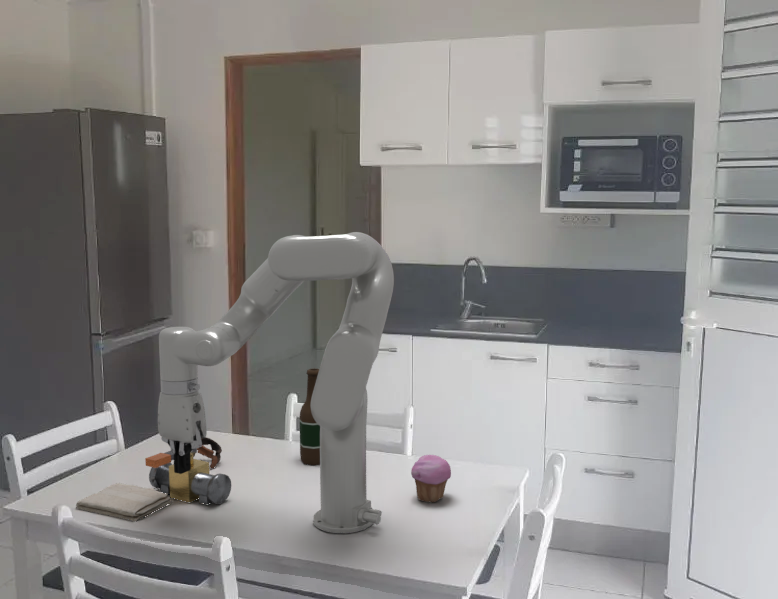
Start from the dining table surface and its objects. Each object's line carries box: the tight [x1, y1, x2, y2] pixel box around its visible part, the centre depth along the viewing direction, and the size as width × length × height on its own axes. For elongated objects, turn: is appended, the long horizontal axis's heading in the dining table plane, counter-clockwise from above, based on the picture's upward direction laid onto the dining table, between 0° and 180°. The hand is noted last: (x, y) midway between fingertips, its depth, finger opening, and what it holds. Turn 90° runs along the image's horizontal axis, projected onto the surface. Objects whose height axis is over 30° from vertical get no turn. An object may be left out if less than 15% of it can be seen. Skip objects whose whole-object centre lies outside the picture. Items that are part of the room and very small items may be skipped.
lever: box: [144, 448, 198, 468], centre depth 168 cm, size 4×13×2 cm, turn 149°
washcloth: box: [75, 482, 173, 522], centre depth 168 cm, size 12×18×3 cm, turn 66°
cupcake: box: [410, 454, 452, 503], centre depth 171 cm, size 9×9×10 cm
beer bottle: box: [299, 367, 320, 466], centre depth 196 cm, size 8×8×24 cm
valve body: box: [148, 454, 232, 505], centre depth 173 cm, size 19×6×10 cm, turn 59°
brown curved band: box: [193, 436, 223, 469], centre depth 193 cm, size 12×9×8 cm
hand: (182, 471), depth 162 cm, fingers closed
